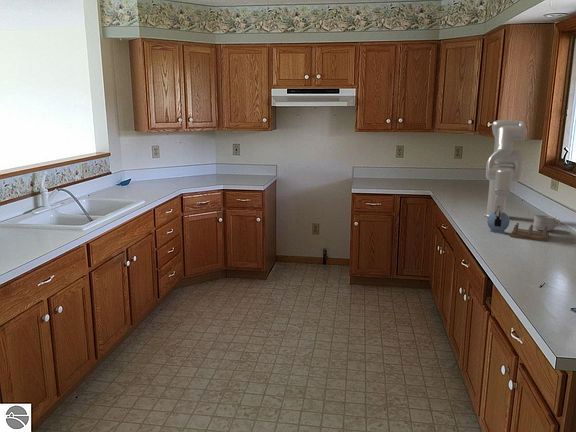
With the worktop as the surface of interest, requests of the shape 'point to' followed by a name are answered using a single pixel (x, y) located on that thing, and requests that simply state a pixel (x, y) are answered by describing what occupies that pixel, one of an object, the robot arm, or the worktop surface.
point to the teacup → (545, 222)
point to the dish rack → (530, 233)
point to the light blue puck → (504, 223)
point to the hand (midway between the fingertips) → (498, 225)
